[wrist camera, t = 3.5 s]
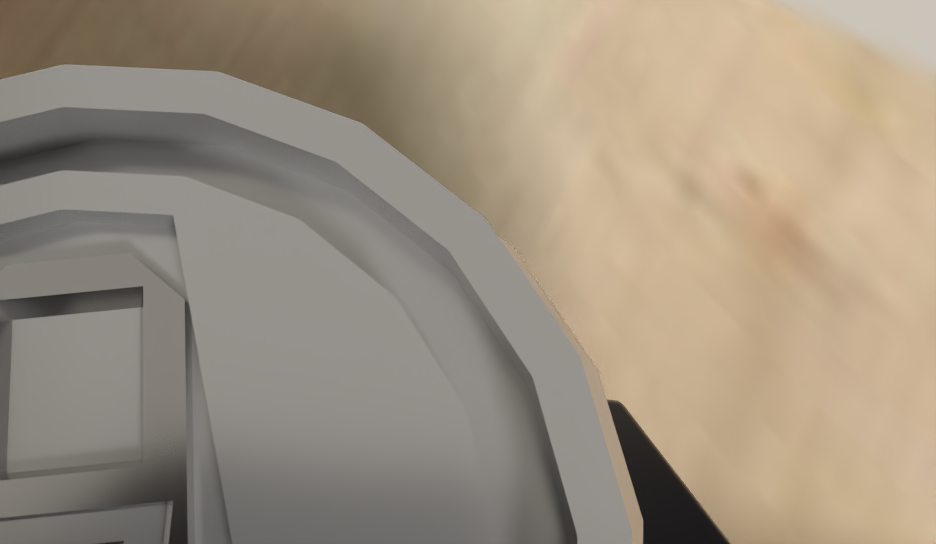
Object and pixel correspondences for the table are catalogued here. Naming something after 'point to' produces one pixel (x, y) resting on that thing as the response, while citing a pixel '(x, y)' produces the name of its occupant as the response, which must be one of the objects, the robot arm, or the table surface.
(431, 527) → the beer can
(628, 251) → the table surface
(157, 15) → the table surface
